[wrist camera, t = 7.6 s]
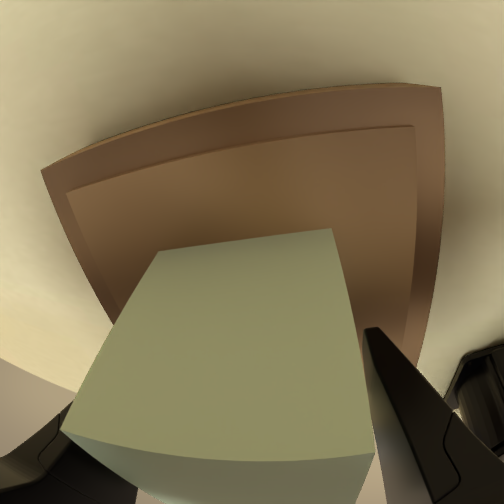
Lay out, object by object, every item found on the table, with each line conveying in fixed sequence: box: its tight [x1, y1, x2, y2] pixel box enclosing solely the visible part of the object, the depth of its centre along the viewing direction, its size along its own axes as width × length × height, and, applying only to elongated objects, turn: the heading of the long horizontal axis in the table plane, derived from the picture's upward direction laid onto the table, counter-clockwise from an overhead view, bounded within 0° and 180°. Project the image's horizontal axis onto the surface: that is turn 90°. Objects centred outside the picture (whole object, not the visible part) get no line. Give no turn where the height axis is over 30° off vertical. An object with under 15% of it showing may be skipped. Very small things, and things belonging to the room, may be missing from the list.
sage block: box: [60, 228, 375, 504], centre depth 7 cm, size 5×5×6 cm
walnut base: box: [41, 83, 445, 376], centre depth 11 cm, size 12×12×3 cm
